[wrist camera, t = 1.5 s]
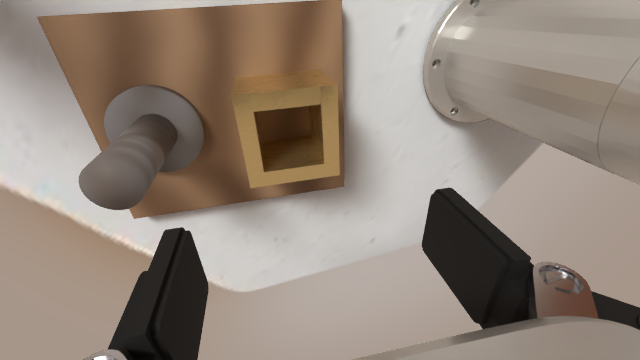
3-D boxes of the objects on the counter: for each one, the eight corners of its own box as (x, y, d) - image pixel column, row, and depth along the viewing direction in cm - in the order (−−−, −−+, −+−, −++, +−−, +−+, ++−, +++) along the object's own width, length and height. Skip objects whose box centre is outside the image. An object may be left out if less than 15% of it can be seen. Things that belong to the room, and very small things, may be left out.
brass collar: (320, 69, 25) (337, 84, 19) (323, 145, 28) (339, 175, 23) (235, 77, 24) (231, 95, 18) (250, 155, 27) (250, 188, 22)
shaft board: (337, -1, 24) (392, -9, 14) (340, 179, 32) (376, 247, 23) (50, 16, 21) (-119, 19, 11) (139, 209, 29) (85, 302, 20)
